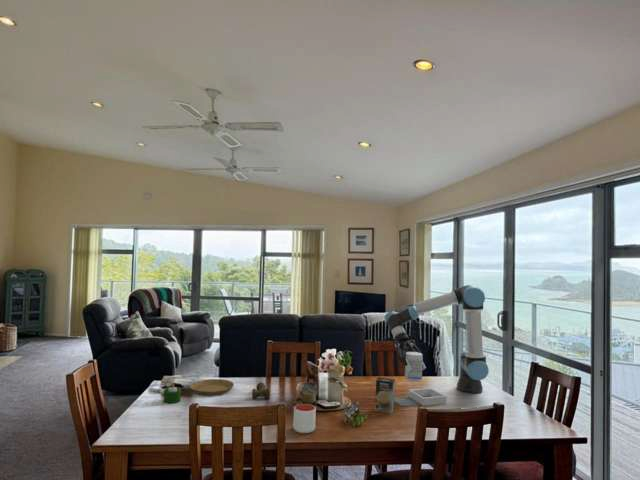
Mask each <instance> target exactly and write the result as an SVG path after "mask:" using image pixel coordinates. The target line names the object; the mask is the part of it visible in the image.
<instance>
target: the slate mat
mask: <svg viewBox="0 0 640 480" xmlns="http://www.w3.org/2000/svg"><path fill="white" fill-rule="evenodd" d="M395 403H396V404H397V405H398V406H400V407H412V406H421V404H419V403H418V402H416V401H414V400H413V399H411V398H409V397H397V398H395V397H394V404H395Z"/></svg>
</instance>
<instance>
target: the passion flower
mask: <svg viewBox="0 0 640 480" xmlns="http://www.w3.org/2000/svg"><path fill="white" fill-rule="evenodd" d="M359 404H360V401H357V402H353V403H351V404H350V402H347V403H346V404H345V405H344V407H343V408H342V409H343V410H345V409H346V410H345V411H344V413H343V417H344V423H346V422H348V420H349V419H351V420H352V426H353V427H354V428H356V425H357V426H358V427H359V426H360V425H362V424H363V422H364V420H367V418H368V414H367V413H365V414H362V413H361V412H360V406H359Z"/></svg>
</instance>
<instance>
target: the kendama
mask: <svg viewBox="0 0 640 480" xmlns="http://www.w3.org/2000/svg"><path fill="white" fill-rule="evenodd" d="M251 396H252V400H256V399H257V398H262V397H263V398H265V399H267V400H270V396H271V391H270V387H267V388H266V385H265V383H264V382H258V383H257V384H256V388H252V391H251Z"/></svg>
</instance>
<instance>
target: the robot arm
mask: <svg viewBox="0 0 640 480" xmlns="http://www.w3.org/2000/svg"><path fill="white" fill-rule="evenodd" d="M485 301H486V295H485V292H484V291H483V290H482V289H481V288H480V287H478V286H476V285H470V284H467V285H466V284H465V285H463V286H461V287H458V288H455V289H453V290H451V292H447V293H445V294H442V295H438V296H435V297H431V298H427V299H425V300H421V301H418V302H415V303H411V304H407V305H402V306H401V307H400V309H399V312H396V311H394V310H393V311H389V312H387V313H386V314H385V315H384V319H385V322H386V324H387V326H388V328H389V330H390V332H391V334H392V336H393V338H394V341H395V342H396V343H395V344H394V346H393V347H394V349H395V351H396V356H397V359H398V361H400V362H401V363H402V364H403V365H404V367H405V366H406V368H407V370H408V372H410V371H411V370H412V368H411V366H410V364H409V362H408V360H407V359H405V355H406V351H407V352H418V353H421V354H422V357H424V354H423V353H422V352H421V350H420V349H419V348H418V346H417V345H416V342H414V341H413V342H411V341H410V339H409V336H408V334H407V332H406V330H405V328H404V326H403V325H405V324H407V323H409V322H411V321H413V320H416V319H417V318H419V317H420V315H422V314H423V315H424V314H426V313H429V312H433V311H436V310H439V309H444V308H446V307H450V306H453V305H456V306H460V305H462V310H463V311H464V312H465V325H466V326H465V328H466V329H465V330H466V347H467V351H461V352H460V355H459V359H460V360H459V363H460V364H459V366H460V367H459V377H458V380H457V383H456V389H457V390H459V391H460V392H464V393H467V394H468V393H469V394H479V393H482V392H483V390H484V389H483V388H484V387H483V386H482V380H484V379H487V377H488V375H489V366H488V363H487V357H486V356H487V355H486V354H485V353H484V351H483V349H484V346H483V329H482V328H483V327H482V312H483V310H484V303H485ZM426 368H427V367H426V365H425V361H424V360H423V361H422V371H424V370H425V369H426Z"/></svg>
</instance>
